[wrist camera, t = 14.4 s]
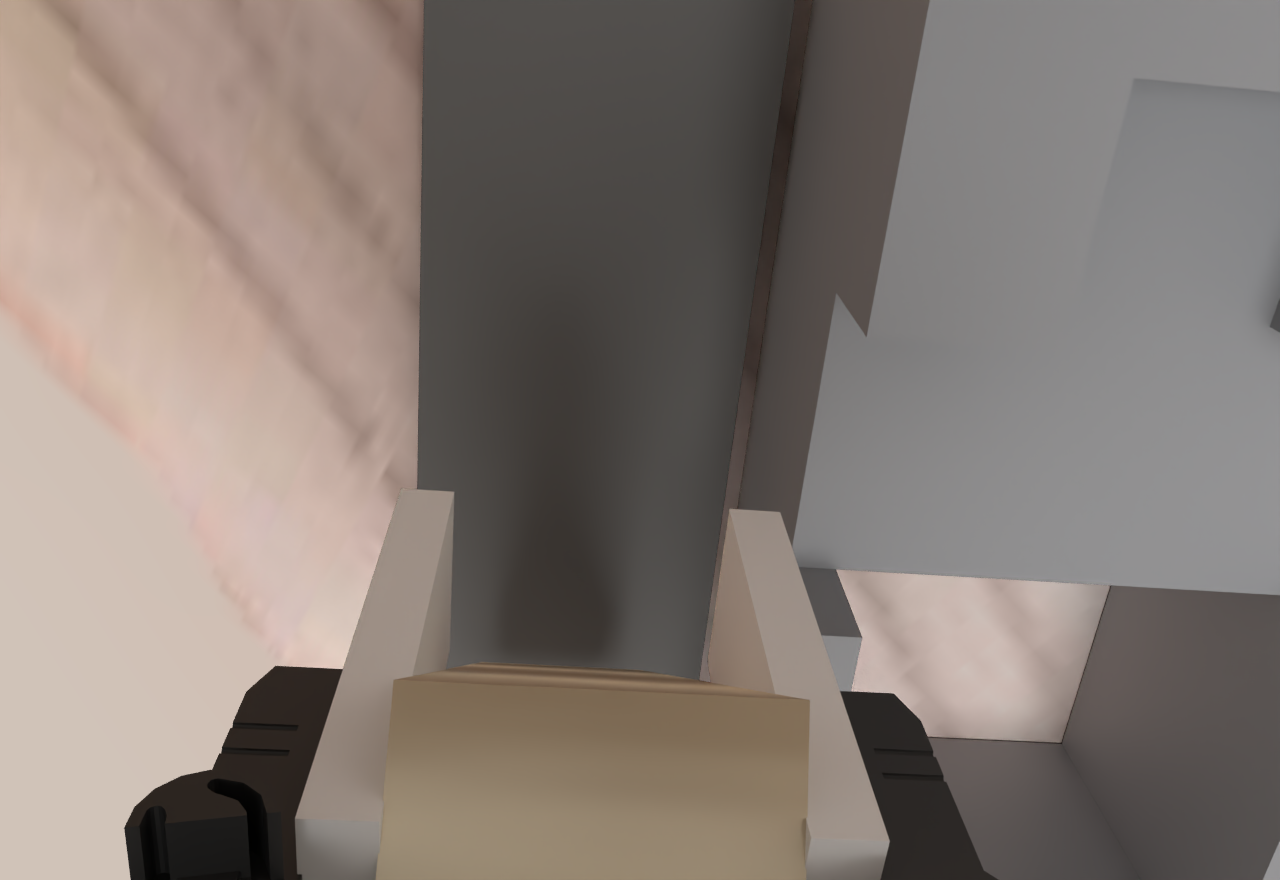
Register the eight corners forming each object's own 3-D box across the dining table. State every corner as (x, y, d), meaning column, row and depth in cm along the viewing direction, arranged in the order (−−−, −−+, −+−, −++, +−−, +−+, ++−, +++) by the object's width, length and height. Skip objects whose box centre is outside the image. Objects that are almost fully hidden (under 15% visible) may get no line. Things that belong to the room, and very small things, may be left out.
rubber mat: (429, -100, 24) (425, -102, 23) (798, -62, 25) (803, -62, 24) (417, 671, 32) (414, 684, 32) (694, 685, 33) (696, 698, 32)
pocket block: (820, -60, 25) (938, -50, 16) (1339, -6, 26) (1694, 28, 17) (699, 766, 34) (735, 1032, 26) (1080, 783, 35) (1231, 1044, 27)
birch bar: (393, 679, 11) (368, 962, 10) (809, 699, 11) (804, 975, 10) (481, 661, 28) (473, 765, 28) (640, 669, 29) (635, 771, 28)
